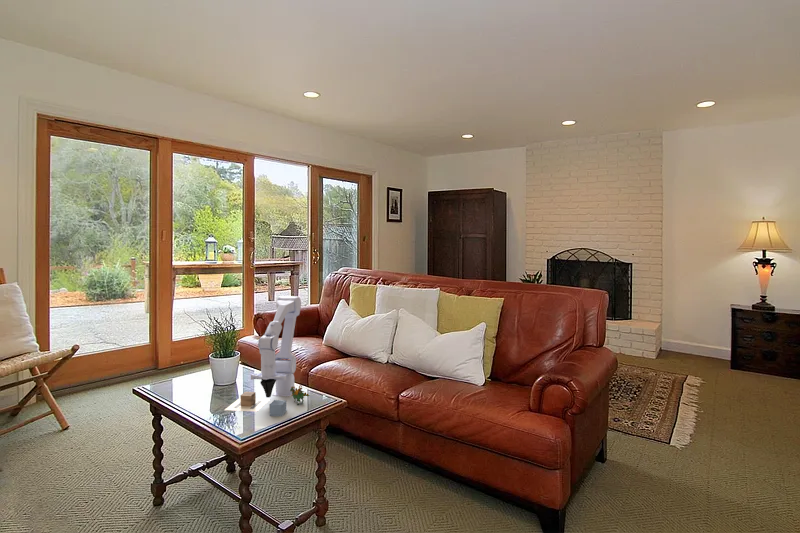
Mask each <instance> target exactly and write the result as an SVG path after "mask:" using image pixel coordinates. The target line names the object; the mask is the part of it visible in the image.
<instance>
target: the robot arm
mask: <svg viewBox="0 0 800 533" xmlns="http://www.w3.org/2000/svg"><path fill="white" fill-rule="evenodd" d="M275 301H276V302H275V303H276V306H275V307H276V312H275V314H274V318H273V321H270V322H269V324H268V325H267V327H266V330H265V332H264V333H263V335H262V336H261V337H259V339H258V343H257V347H258V349H259V354H260V367H261V368H260V370H261V371H260V373H252V374H250V380H253V381H254V380H261V381H260V382H259V383H260V385H261V387H262V388H263V391H264V393H265V394H264V395H265V397H266V398H271V396H272V397H275V396H276V397H291V396H290V395H292V391H290V390H291V387H294V386H295V372H296V369H297V358H296V356H295V355H294V354H293V353H292V349H293V340H294V336H295V329H296V328H295V326H296V323H297V322H296V321H297V317H298V316H300V313H301V308H302V299H301V298H300V297H299V296H290V295H289V296H288V295H287V296H284V295H279V296H278V297H277V299H276V300H275ZM282 323H283V325H282ZM281 332H282V335H281V342H280V349H279V351H278V352H277V353H276V349H278V345H279V336H280V334H281ZM274 385H275V386H274ZM274 387H275V392H274V393H273V391H274V390H273V389H274ZM293 389H294V388H293ZM294 390H295V391H296V388H295V389H294ZM272 393H273V394H272Z"/></svg>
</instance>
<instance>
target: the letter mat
mask: <svg viewBox="0 0 800 533" xmlns="http://www.w3.org/2000/svg"><path fill="white" fill-rule="evenodd" d="M270 400H271V398H257V397H256V403H255V404H253V405H252V406H251V407H250V406H241V397H239V398H237V400H235V401H234V402H232V403H231V404H230V405H228V406H227V407H226V408H224V411H234V412H235V411H236V412H237V411H238V412H254V413H255V412H259V410H261V409H262V408H263V407H265V405H266V404H268V402H270Z"/></svg>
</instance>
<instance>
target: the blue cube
mask: <svg viewBox="0 0 800 533" xmlns="http://www.w3.org/2000/svg"><path fill="white" fill-rule="evenodd" d="M286 412H287V400H283V399H282V400H281V399H274V400H272V402H270V404H269V417H283V416H284V415H285V414H286Z"/></svg>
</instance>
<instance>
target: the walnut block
mask: <svg viewBox="0 0 800 533" xmlns="http://www.w3.org/2000/svg"><path fill="white" fill-rule="evenodd" d="M239 396H240V397H239V398H241V406H250V407H251V406H252V405H253V404H255V403H256V398H257V397H256V392H255V391H244V392H243V393H242V394H240V395H239Z"/></svg>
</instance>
